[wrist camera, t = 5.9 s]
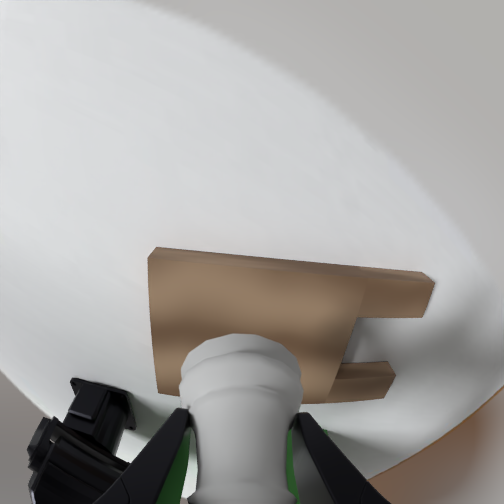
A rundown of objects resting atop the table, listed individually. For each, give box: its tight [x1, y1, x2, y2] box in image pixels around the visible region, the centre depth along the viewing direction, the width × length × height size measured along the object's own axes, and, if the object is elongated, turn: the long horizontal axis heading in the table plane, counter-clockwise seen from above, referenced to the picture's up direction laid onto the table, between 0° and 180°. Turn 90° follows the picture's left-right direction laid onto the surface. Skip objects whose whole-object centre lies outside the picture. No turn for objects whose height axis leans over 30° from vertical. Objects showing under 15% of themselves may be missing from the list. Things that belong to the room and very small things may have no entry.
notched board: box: [148, 247, 435, 404], centre depth 21 cm, size 12×20×2 cm, turn 83°
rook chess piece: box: [179, 333, 304, 504], centre depth 7 cm, size 4×4×8 cm
